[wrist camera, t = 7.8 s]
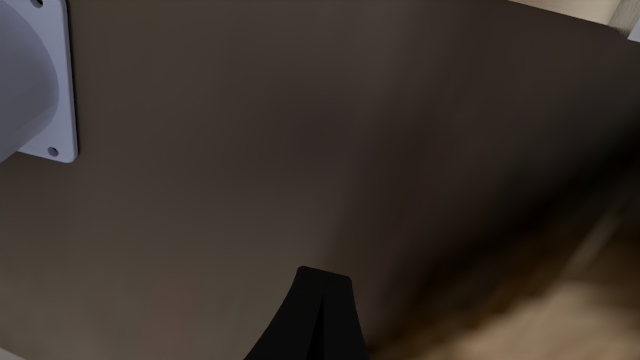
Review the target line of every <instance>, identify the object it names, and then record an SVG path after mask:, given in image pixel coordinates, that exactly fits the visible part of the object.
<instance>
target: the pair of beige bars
mask: <svg viewBox="0 0 640 360" xmlns="http://www.w3.org/2000/svg"><path fill="white" fill-rule="evenodd" d="M510 1H514V2H518V3H522V4H526V5H530V6H534V7H538V8H542V9H546V10H550V11H554V12H558V13H562V14H566V15H569V16H573V17H577V18H581V19H585V20H589V21H593V22H597V23H601V24H605V25H608V23H609V21H610V19H611V17H612V16H613V14H614V12H615V10H616V8H617V6H618V4H619V3H620V1H621V0H510Z"/></svg>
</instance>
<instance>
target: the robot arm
mask: <svg viewBox="0 0 640 360" xmlns="http://www.w3.org/2000/svg"><path fill="white" fill-rule="evenodd" d="M42 1H43V5H41V4H39V3H38V1H37V0H0V163H1V162H2V161H4V160H5V159H6V158H8V157H9V156H10V155H12V154H13V153H14V152H16V151H19V152H23V153H27V154H31V155H35V156H39V157H43V158H48V159H52V160H56V161H60V162H64V163H70V162H72V161H74V160H75V159H76V157H77V156H78V149H77V136H76V123H75V110H74V97H73V84H72V71H71V58H70V46H69V33H68V20H67V7H66V2H65V0H42ZM53 147H54V148H56V149H57V150H58V152H56V151H55V150H54V149H53ZM244 360H370V358H369V355H368V352H367V348H366V345H365V342H364V338H363V335H362V331H361V327H360V324H359V319H358V315H357V311H356V306H355V301H354V296H353V289H352V281H351V279H350V278H349V277H348V276H344V275H340V274H336V273H331V272H327V271H323V270H319V269H315V268H311V267H307V266H301V267H299V268H298V269H297V273H296V276H295V279H294V281H293V284H292V286H291V288H290V290H289V292H288V294H287V296H286V298H285V299H284V301H283V303H282V305H281V306H280V308H279V310H278V311H277V313H276V315H275V316H274V318H273V319H272V321H271V323H270V324H269V326H268V327H267V329H266V330H265V331H264V333H263V334H262V336H261V337H260V338H259V340H258V341H257V343H256V344H255V345H254V347H253V348H252V349H251V351H250V352H249V353H248V355H247V356H246V357H245V359H244Z"/></svg>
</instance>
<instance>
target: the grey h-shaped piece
mask: <svg viewBox="0 0 640 360" xmlns="http://www.w3.org/2000/svg"><path fill="white" fill-rule="evenodd" d="M608 26H609V27H611V28H612V29H614V30H615V31H617V32H618V33H619V34H621V35H622V36H624V37H625V38H627V39H629V40H633V41H637V42H640V0H621V1H620V3H619V4H618V6H617V8H616V10H615V12H614V14H613V16H612V17H611V19H610V21H609V23H608Z"/></svg>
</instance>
